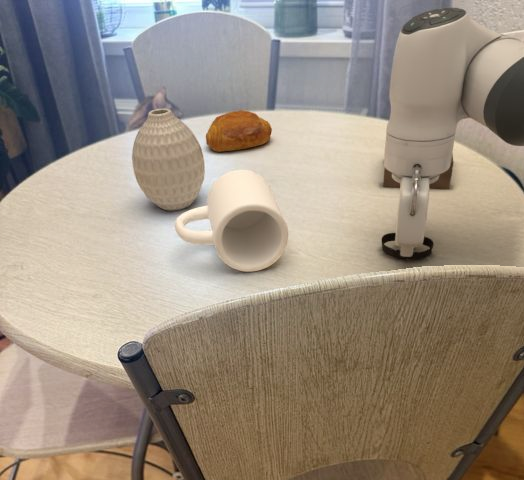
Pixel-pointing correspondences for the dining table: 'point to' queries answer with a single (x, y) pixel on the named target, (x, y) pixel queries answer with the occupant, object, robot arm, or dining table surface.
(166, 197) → the vase
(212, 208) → the mug
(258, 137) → the croissant
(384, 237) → the watch
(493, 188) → the dining table surface
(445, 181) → the brown wooden box
